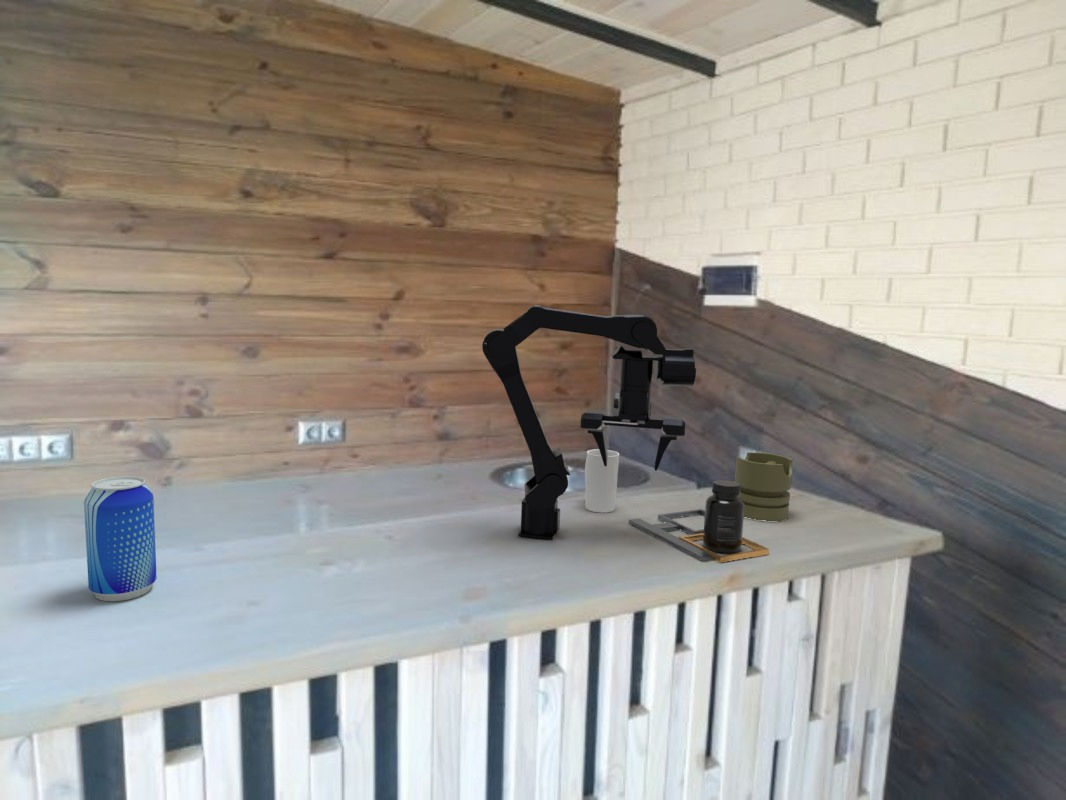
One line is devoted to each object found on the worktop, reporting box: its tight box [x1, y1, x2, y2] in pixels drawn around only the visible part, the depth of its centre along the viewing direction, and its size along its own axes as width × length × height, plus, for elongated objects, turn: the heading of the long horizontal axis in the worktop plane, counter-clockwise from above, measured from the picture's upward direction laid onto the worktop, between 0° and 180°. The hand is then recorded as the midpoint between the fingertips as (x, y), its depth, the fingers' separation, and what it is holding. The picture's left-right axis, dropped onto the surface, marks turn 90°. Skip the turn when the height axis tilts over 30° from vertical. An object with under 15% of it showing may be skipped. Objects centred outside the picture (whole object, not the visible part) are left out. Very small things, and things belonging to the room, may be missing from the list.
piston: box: [734, 451, 794, 522], centre depth 151 cm, size 11×12×11 cm
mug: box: [584, 448, 620, 514], centre depth 152 cm, size 10×7×12 cm, turn 25°
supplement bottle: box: [702, 479, 745, 554], centre depth 129 cm, size 7×7×12 cm
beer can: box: [83, 475, 158, 602], centre depth 101 cm, size 8×8×16 cm
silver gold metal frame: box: [628, 508, 770, 564], centre depth 136 cm, size 18×24×1 cm
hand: (630, 468), depth 133 cm, fingers open, 9 cm apart
